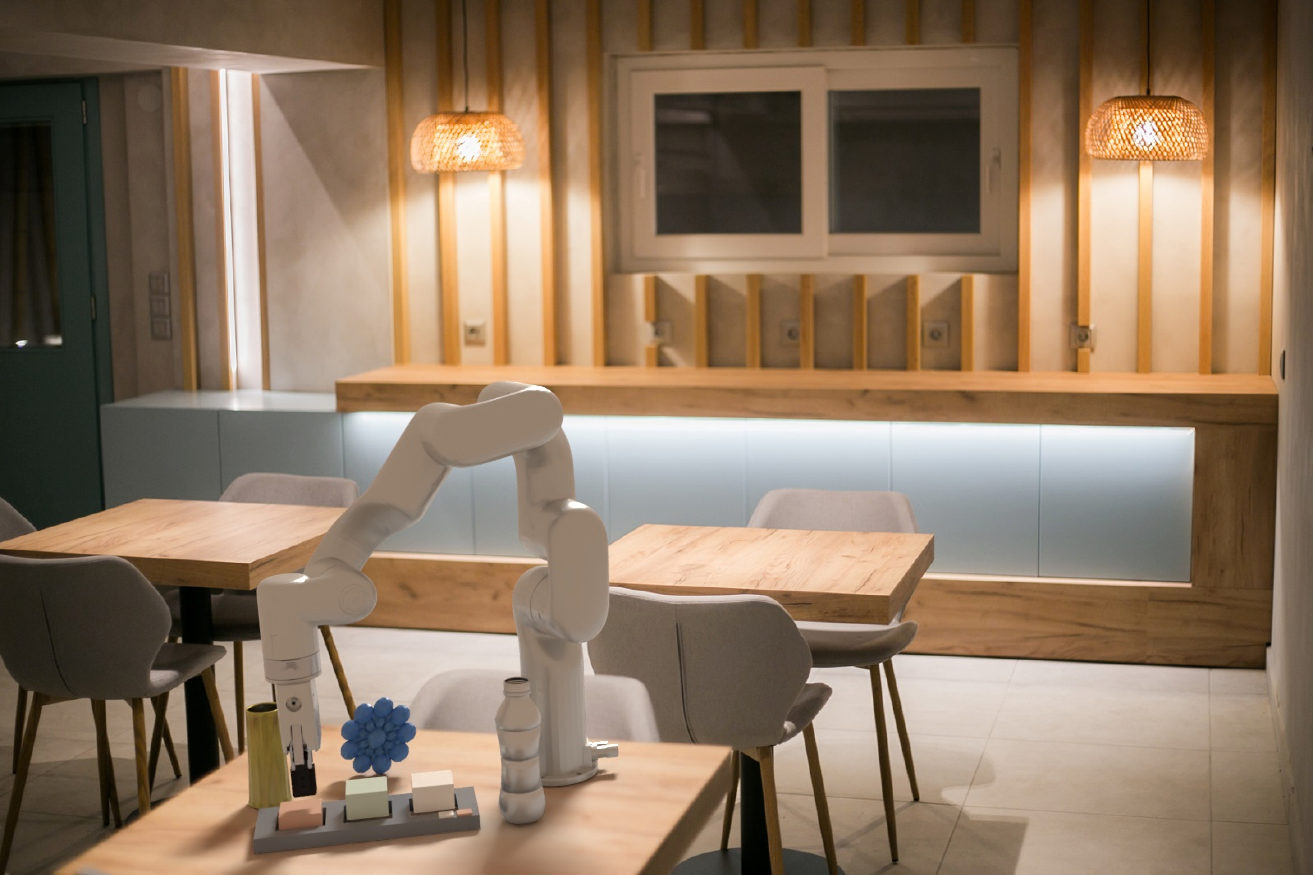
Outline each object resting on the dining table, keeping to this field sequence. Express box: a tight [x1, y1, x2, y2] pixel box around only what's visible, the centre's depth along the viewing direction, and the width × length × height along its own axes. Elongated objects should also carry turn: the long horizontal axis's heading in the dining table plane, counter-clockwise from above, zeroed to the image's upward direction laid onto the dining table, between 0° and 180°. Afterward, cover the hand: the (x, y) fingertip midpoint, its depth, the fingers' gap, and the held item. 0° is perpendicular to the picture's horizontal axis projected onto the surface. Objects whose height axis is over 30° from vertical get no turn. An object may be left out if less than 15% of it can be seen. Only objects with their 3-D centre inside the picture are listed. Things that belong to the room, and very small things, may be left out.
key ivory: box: [410, 769, 456, 814], centre depth 201 cm, size 6×6×4 cm
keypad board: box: [252, 785, 481, 855], centre depth 199 cm, size 30×11×2 cm, turn 102°
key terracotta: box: [278, 797, 325, 830], centre depth 197 cm, size 6×6×4 cm
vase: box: [245, 701, 293, 810], centre depth 208 cm, size 6×6×14 cm
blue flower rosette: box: [340, 696, 417, 775], centre depth 220 cm, size 12×7×12 cm, turn 93°
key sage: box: [345, 776, 390, 821], centre depth 199 cm, size 6×6×4 cm
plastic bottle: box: [494, 676, 547, 825], centre depth 198 cm, size 6×7×20 cm
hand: (305, 794), depth 197 cm, fingers closed
